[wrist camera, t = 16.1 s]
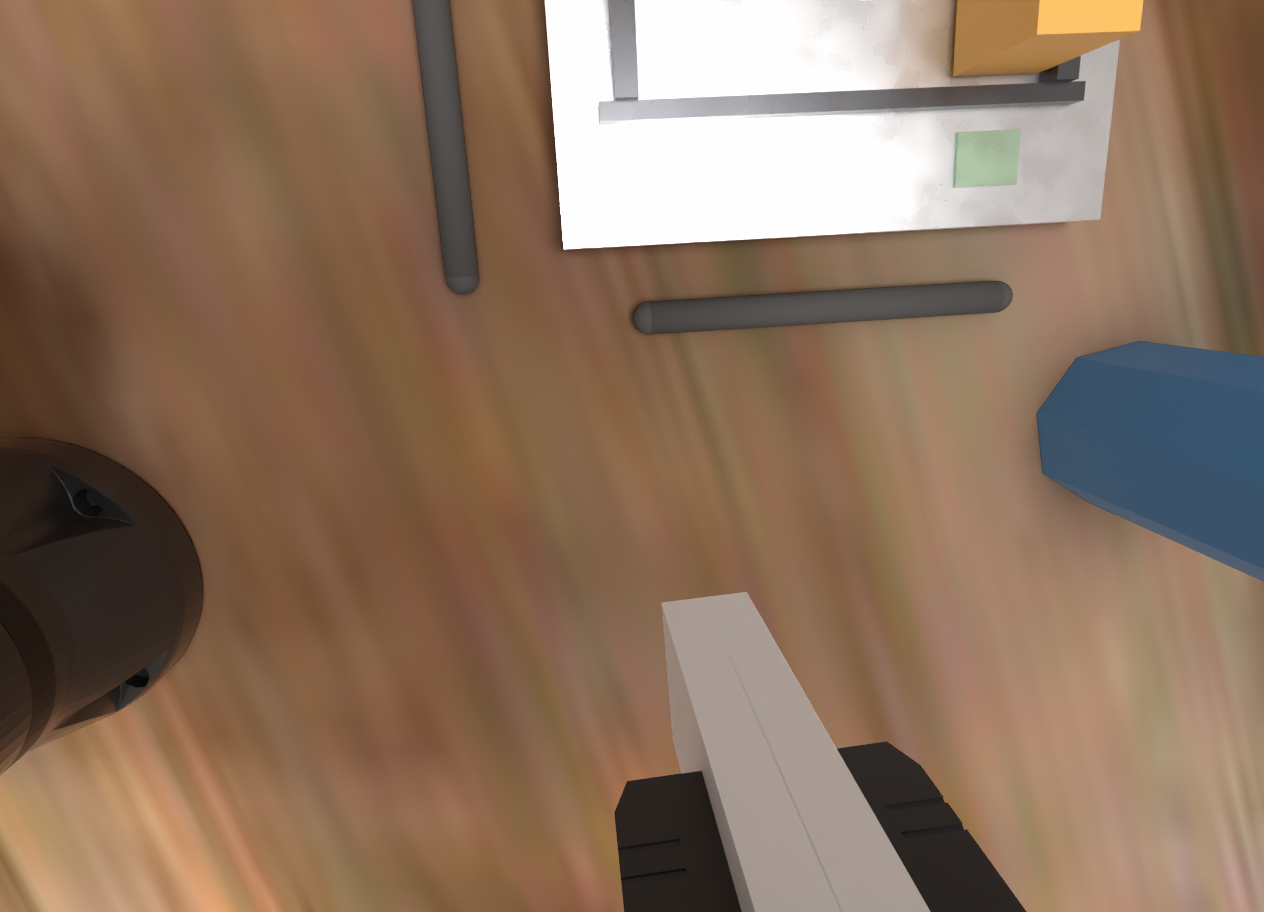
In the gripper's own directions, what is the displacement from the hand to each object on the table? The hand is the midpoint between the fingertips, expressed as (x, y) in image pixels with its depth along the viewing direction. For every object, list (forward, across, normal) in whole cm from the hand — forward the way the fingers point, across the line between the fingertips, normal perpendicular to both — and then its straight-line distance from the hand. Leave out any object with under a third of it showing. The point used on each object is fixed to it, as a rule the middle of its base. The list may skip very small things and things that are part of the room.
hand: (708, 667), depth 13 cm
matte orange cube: (+23, +19, +16) cm, 34 cm away
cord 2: (+26, +11, +4) cm, 28 cm away
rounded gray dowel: (+26, -6, +17) cm, 32 cm away
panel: (+26, +12, +16) cm, 33 cm away
